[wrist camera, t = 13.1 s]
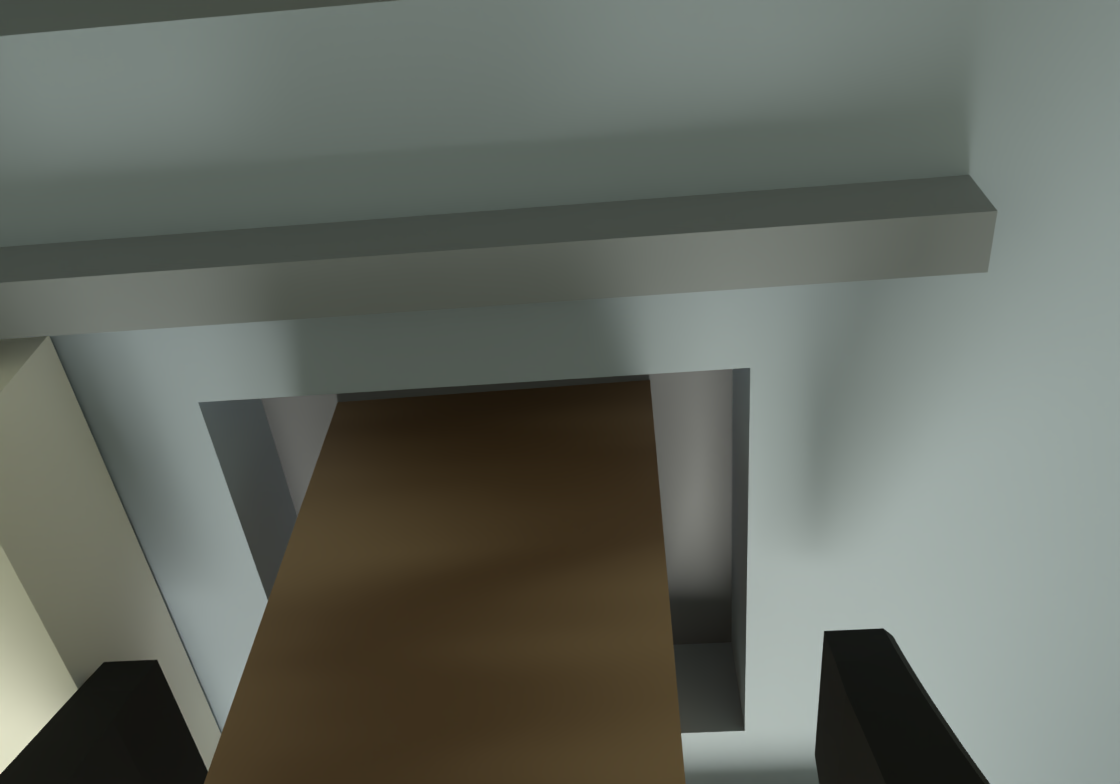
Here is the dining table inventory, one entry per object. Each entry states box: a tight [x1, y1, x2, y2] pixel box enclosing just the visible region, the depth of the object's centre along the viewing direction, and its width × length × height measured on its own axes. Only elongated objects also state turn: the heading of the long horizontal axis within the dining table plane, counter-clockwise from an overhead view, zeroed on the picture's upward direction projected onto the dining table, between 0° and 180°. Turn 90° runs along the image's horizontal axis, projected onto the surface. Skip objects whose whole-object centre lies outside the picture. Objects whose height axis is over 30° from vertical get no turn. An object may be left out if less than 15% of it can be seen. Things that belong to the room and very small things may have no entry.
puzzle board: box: [0, 0, 1120, 784], centre depth 13 cm, size 22×14×3 cm, turn 95°
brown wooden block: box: [204, 380, 686, 784], centre depth 12 cm, size 4×4×6 cm
